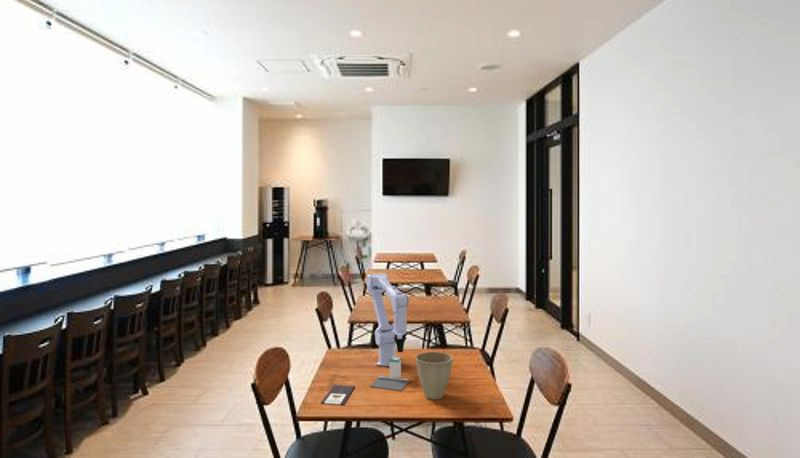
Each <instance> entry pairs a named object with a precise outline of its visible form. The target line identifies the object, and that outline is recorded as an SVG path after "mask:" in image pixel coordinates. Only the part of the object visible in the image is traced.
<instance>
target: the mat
mask: <svg viewBox="0 0 800 458" xmlns="http://www.w3.org/2000/svg"><path fill="white" fill-rule="evenodd" d="M408 383H409V382H400V381H392V380H383V379H376V380H374V381H373V383H371V385H370V386H369V388H376V389H385V390H393V391H401V392H402V391H403V390H404V389H405V387H406V386H407V385H408Z"/></svg>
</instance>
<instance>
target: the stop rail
mask: <svg viewBox="0 0 800 458" xmlns="http://www.w3.org/2000/svg"><path fill="white" fill-rule="evenodd" d="M377 379H383V380H392V381H400V382H408V383H409V382H410V379H409V378H401V377H400V378H396V377H390V376H386V375H385V376H384V375H378V376H377ZM377 379H376V380H377Z"/></svg>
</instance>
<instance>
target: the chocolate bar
mask: <svg viewBox="0 0 800 458" xmlns="http://www.w3.org/2000/svg"><path fill="white" fill-rule="evenodd" d="M354 389H355V385H339V384H333V386H331V388H330V390H329V391H328V393H327V394H326V395H325V396H324V398H323V399H322V400H321V402H320V404H322V405H333V406H336V405H337V406H344V405H345V404H346V402H347V400H348V399H349V397H350V396H351V394H352V393H353V391H354Z"/></svg>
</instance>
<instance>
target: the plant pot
mask: <svg viewBox="0 0 800 458" xmlns="http://www.w3.org/2000/svg"><path fill="white" fill-rule="evenodd" d="M453 359H454V358H453V356H452V355H451V354H449V353H446V352H441V351H425V352H420V353H418V354H416V355H415V363H416V369H417V373H418V374H417V375H418V379H419V383H420V386H421V389H422V393H423V395H424V397H425V398H426V399H429V400H439V399H442V398H444V395H445V393H446V390H447V387H448V383H449V379H450V376H451V372H452V366H453V361H454V360H453Z"/></svg>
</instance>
